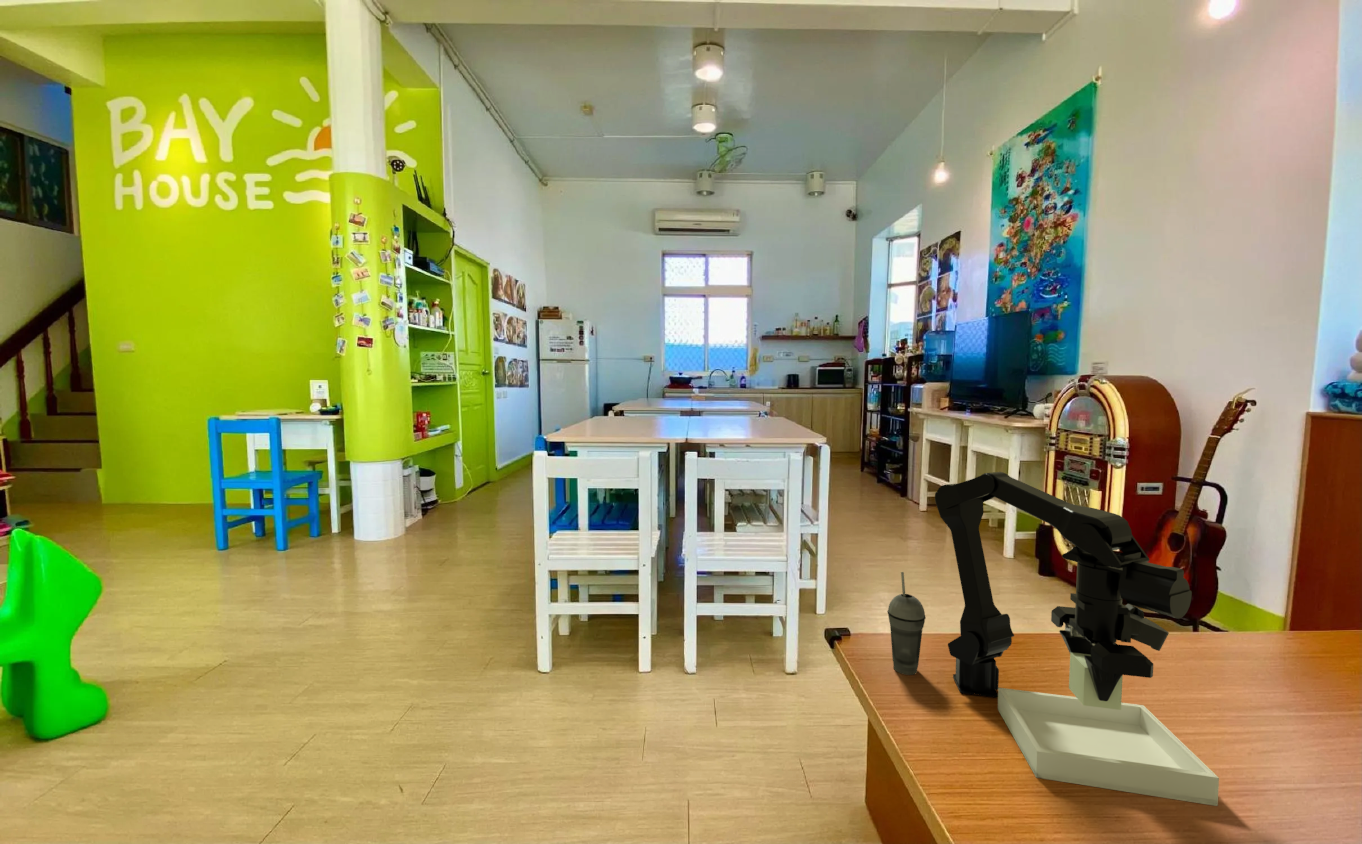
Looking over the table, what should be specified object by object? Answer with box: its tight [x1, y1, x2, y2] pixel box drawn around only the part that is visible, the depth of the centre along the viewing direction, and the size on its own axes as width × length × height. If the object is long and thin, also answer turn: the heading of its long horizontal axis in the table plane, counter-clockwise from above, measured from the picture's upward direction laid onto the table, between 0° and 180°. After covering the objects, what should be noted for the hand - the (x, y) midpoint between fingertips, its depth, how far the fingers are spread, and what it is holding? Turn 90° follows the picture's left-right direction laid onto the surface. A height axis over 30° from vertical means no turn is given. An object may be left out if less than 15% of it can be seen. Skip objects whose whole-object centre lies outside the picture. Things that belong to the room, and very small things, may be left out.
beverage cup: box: [887, 571, 927, 676], centre depth 111 cm, size 7×7×20 cm
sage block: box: [1068, 652, 1124, 710], centre depth 85 cm, size 5×5×6 cm
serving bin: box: [997, 687, 1220, 807], centre depth 85 cm, size 22×18×4 cm
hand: (1094, 691), depth 85 cm, fingers closed on sage block, 5 cm apart
